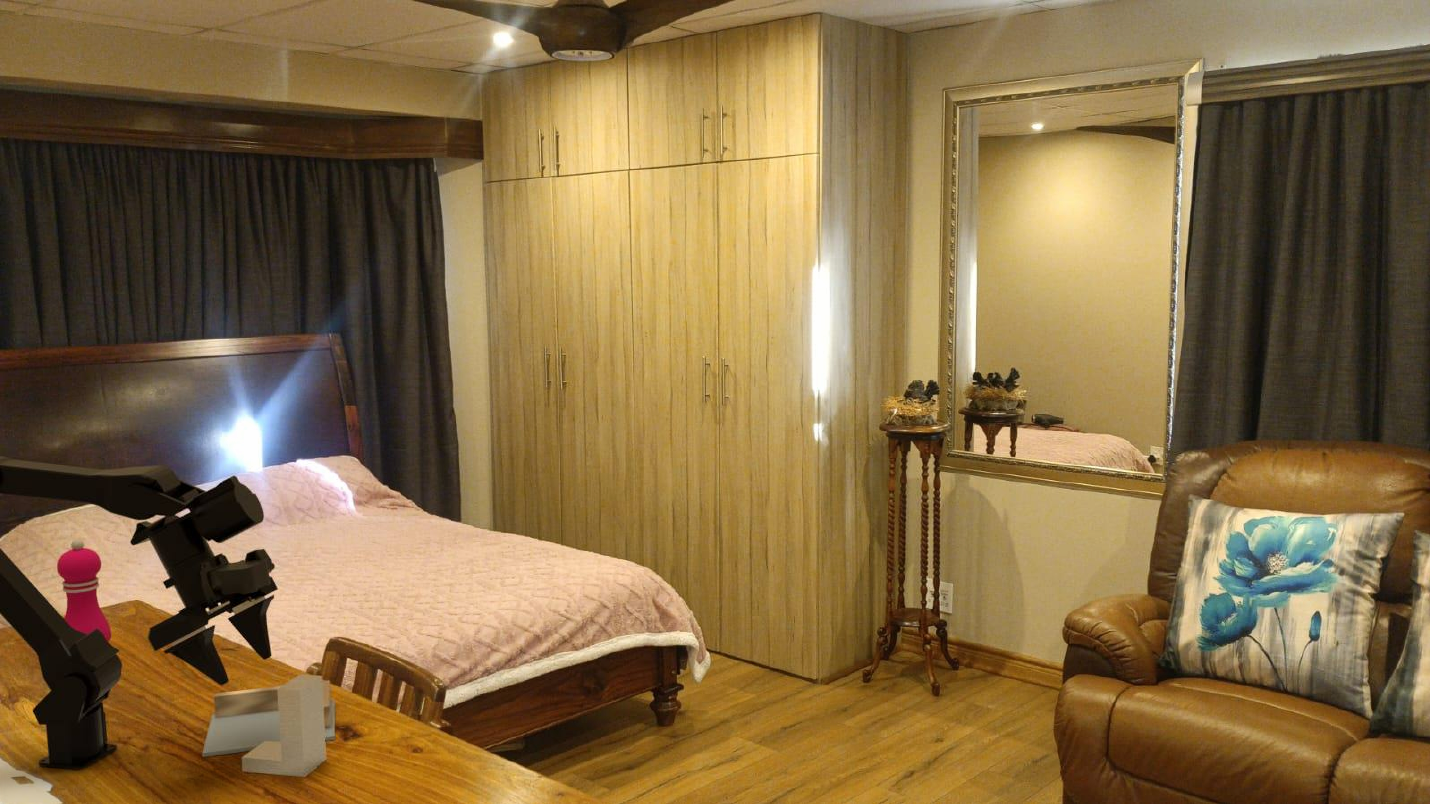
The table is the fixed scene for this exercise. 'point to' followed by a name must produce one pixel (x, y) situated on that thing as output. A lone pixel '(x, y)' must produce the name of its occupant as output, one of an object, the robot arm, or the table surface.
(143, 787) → the table surface
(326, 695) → the board walls
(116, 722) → the table surface
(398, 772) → the table surface
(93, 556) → the pepper mill
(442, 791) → the table surface
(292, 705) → the bracket
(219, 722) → the slate board
